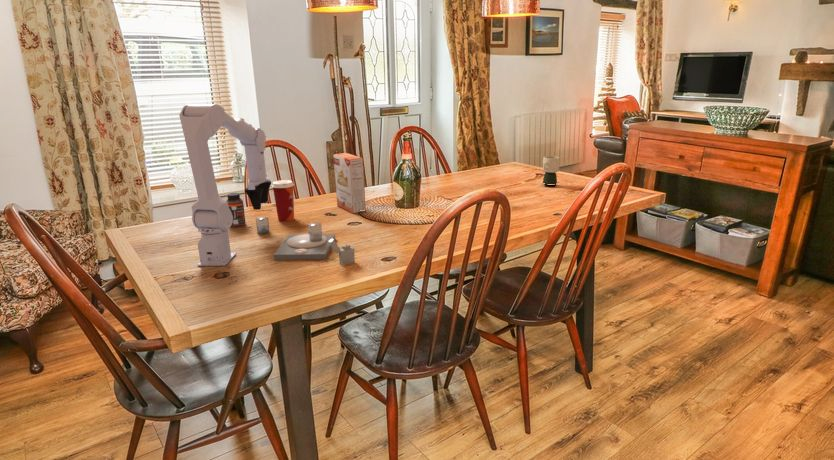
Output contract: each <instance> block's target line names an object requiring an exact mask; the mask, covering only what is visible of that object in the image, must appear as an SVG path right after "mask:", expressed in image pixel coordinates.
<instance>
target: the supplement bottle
mask: <svg viewBox="0 0 834 460" xmlns="http://www.w3.org/2000/svg"><path fill="white" fill-rule="evenodd" d="M240 196H241V195H240V192H230V193H227V199H226V200H225V201H226V202H227V203H228V207H229V209H230V211H231V213H232V215H233V222H232V225H231V227H232V228H238V227H243V226H244V225H246V213H245V207H244V205H245V204H244V201H243V199H242V198H241V197H240ZM231 227H230V228H231Z"/></svg>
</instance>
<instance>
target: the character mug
mask: <svg viewBox="0 0 834 460" xmlns="http://www.w3.org/2000/svg"><path fill="white" fill-rule="evenodd" d="M560 158H561V157H560V156H556V155H545V156H543V158H542V171H543V172H544V175H543V179H542V184H543V183H545V184H556V183H557V184H558V178H557V173H558V172H559V170H560V161H561V160H560Z"/></svg>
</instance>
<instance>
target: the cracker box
mask: <svg viewBox="0 0 834 460" xmlns="http://www.w3.org/2000/svg"><path fill="white" fill-rule="evenodd" d="M333 163H334V164H333V166H334V167H333V168H334V177H335V194H336V206H337V207H339V208H341V209H343V210H345V211H347V212H349V213H351V214H354V213H355V214H358V212H359V211H360V210H364V209H366V207H367V206H366V190H365V174H364V171H365V169H364V158H363V157H361V156H357V155H354V154H351V153H348V152H343V153H341V152H340V153H335V154H333ZM359 213H360V212H359Z"/></svg>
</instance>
